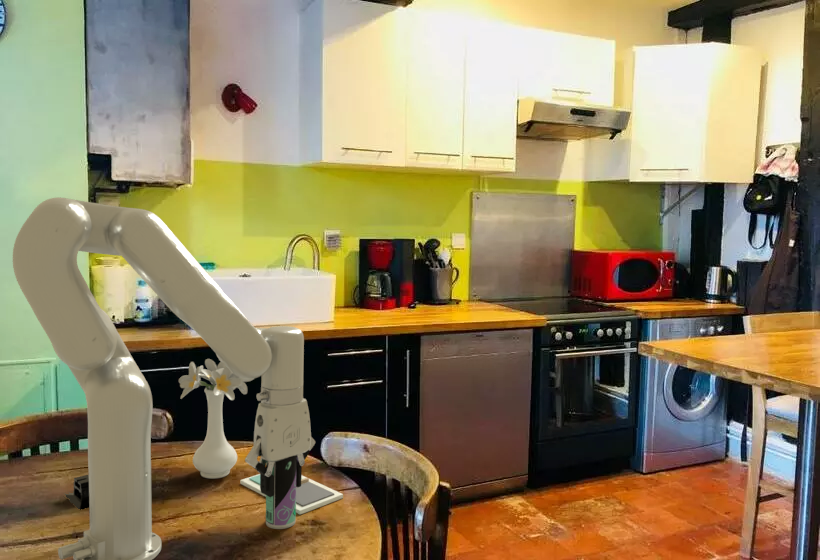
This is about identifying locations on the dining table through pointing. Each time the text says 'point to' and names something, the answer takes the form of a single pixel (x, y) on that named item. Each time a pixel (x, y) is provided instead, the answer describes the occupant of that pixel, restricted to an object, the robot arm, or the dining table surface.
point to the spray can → (282, 495)
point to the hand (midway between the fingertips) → (281, 488)
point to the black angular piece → (80, 492)
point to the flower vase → (214, 416)
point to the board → (302, 493)
